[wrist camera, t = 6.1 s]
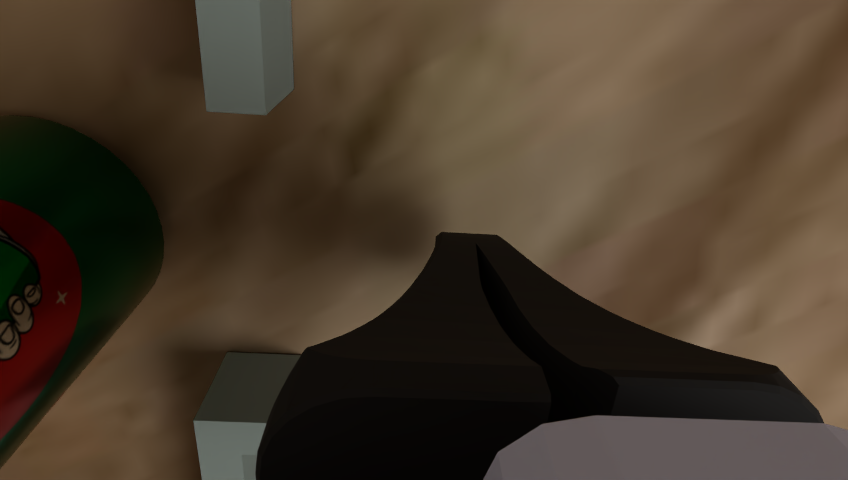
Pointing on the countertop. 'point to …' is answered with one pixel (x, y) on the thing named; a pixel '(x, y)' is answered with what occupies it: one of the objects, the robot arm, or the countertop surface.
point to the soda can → (64, 263)
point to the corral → (254, 94)
